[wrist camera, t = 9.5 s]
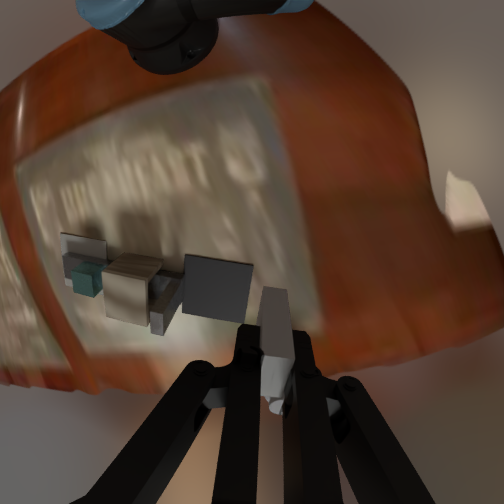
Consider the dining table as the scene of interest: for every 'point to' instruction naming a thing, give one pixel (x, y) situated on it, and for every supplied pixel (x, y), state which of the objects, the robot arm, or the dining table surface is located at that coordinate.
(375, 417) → the robot arm
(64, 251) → the mat
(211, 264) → the grey shoe shape
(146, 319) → the tunnel
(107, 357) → the dining table surface
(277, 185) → the dining table surface
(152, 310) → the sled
